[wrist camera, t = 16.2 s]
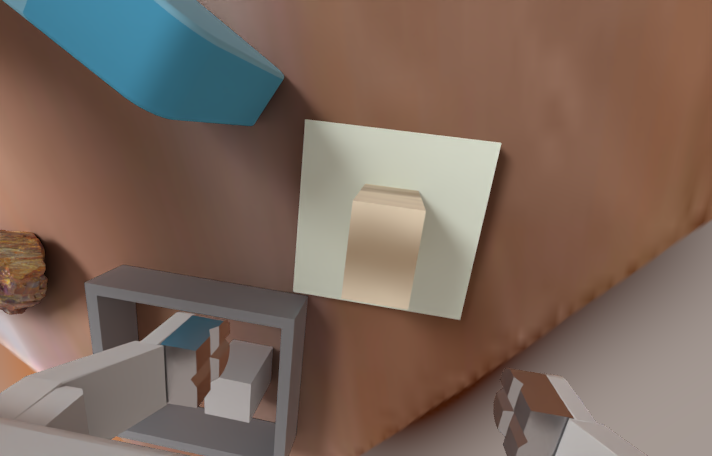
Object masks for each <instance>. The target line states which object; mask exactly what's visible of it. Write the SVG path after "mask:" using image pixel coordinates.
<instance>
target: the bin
mask: <svg viewBox="0 0 712 456" xmlns="http://www.w3.org/2000/svg"><path fill="white" fill-rule="evenodd" d="M84 284H85V292H86V300H87V309H88V317H89V325H90V333H91V341H92V349H93V354H96V353H99V352H102V351H105V350H108V349H111V348H114V347H117V346H120V345H123V344H126V343H129V342H132V341H139V340H138V327H137V314H136V302H137V303H142V304H148V305H153V306H159V307H164V308H170V309H176V310H181V311H187V312H192V313H198V314H203V315H209V316H214V317H220V318H226V319H231V320H237V321H242V322H248V323H253V324H259V325H265V326H270V327H276V328H281V345H280V361H279V377H278V393H277V409H276V423H273V422H269V421H264V420H259V419H254V418H252V419H251V420H250V422H249V423H247V422H243V421H238V420H233V419H229V418H224V417H219V416H214V415H210V414H205V408H201V407H198V408H193V407H187V406H181V405H175V404H168V403H167V405H166V406H164V407H163V408H161V409H159V410H158V411H156V412H155V413H153V414H151V415H150V416H148V417H146V418H145V419H143V420H142V421H140V422H138V423H137V424H135V425H133V426H132V427H130V428H129V429H127V430H125V431H124V432H122V433H121V434H119V435H117V436H118V437H123V438H127V439H132V440H136V441H141V442H145V443H150V444H154V445H159V446H164V447H168V448H173V449H177V450H182V451H186V452H191V453H195V454H200V455H205V456H289V454H290V451H291V448H292V446H293V443H294V440H295V437H296V431H297V419H298V408H299V396H300V385H301V373H302V361H303V350H304V338H305V326H306V315H307V303H308V296H305V295H299V294H293V293H287V292H281V291H275V290H269V289H263V288H258V287H252V286H246V285H240V284H234V283H228V282H222V281H216V280H210V279H204V278H199V277H193V276H187V275H181V274H175V273H169V272H163V271H157V270H151V269H145V268H140V267H134V266H128V265H121V266H119V267H117V268H115V269H113V270H110V271H108V272H106V273H104V274H102V275H100V276H97V277H95V278H93V279H91V280H89V281H86V282H84Z"/></svg>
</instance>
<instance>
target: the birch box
mask: <svg viewBox="0 0 712 456" xmlns="http://www.w3.org/2000/svg"><path fill="white" fill-rule="evenodd" d="M425 214H426V209H425V207H424V204H423V201H422V199H421V196H420V194H419V191H416V190H409V189H401V188H394V187H387V186H379V185H372V184H364V186H363V187H362V189H361V190H360V191H359V193H358V194H357V195H356V197H355V198H354V199H353V202H352V211H351V219H350V228H349V236H348V245H347V253H346V262H345V270H344V279H343V287H342V296H341V299H347V300H353V301H359V302H365V303H371V304H377V305H383V306H389V307H394V308H400V309H406V310H408V307H409V302H410V296H411V291H412V285H413V280H414V274H415V269H416V263H417V258H418V252H419V247H420V241H421V236H422V230H423V225H424V220H425Z"/></svg>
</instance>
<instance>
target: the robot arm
mask: <svg viewBox="0 0 712 456" xmlns="http://www.w3.org/2000/svg"><path fill="white" fill-rule="evenodd" d="M229 333H230V323H229V322H228V320H224V319H219V318H214V317H209V316H204V315H199V314H193V313H187V312H176V313H175V314H174V315H173V316H171V317H170V318H169V319H168V320H166V321H165V322H164V323H163V324H161V325H160V326H159V327H158V328H156V329H155V330H154V331H153V332H151V333H150V334H149V335H148V336H146V337H145V338H144V339H143V340H141V341H132V342H129V343H126V344H123V345H120V346H117V347H114V348H111V349H108V350H105V351H102V352H99V353H96V354H93V355H90V356H87V357H83V358H80V359H77V360H74V361H71V362H68V363H65V364H62V365H59V366H56V367H53V368H50V369H47V370H44V371H41V372H38V373H35V374H32V375H28V376H26V377H24V378H23V379H21V380H20V381H18V382H16V383H15V384H13V385H12V386H10V387H9V388H7V389H6V390H4V391H3V392H1V393H0V456H190V455H185V454H180V453H175V452H170V451H165V450H160V449H155V448H150V447H145V446H140V445H135V444H130V443H126V442H121V441H115V440H111V439H112V438H114V437H115V436H117V435H119V434H121V433H122V432H124V431H125V430H127V429H129V428H130V427H132V426H133V425H135V424H137V423H138V422H140V421H142V420H143V419H145V418H146V417H148V416H150V415H151V414H153V413H155V412H156V411H158V410H159V409H161V408H163V407H164V406H166V405H167V403H168V404H175V405H181V406H187V407H193V408H198V406H199V405H200V404H201V402H202V401H203V400H204V398H205V397H206V395H207V394H208V393H209V391H210V390H211V382H212V381H214V380H216V379H218V378H219V377H220V376H221V374H222V373H223V372H224V370H225V367H226V365H227V362H228V359H229V353H230V345H229V344H228V342H227V341H226V339H225V338H226V337H227V336H228V335H229ZM500 381H501V383H502V385H503V388H502V389H500V390H499V391H498V392H497V393H496V396H495V400H494V419H495V423H496V426H497V429H498V430H499V431H500V432H501V433H502V434H503V435H504V436H505V440H504V443H503V446H504V448H505V451H506V454H507V456H647V455H646V454H645V453H643V452H642V451H640V450H639V449H638V448H636V447H635V446H633V445H632V444H630V443H629V442H628V441H626V440H625V439H623V438H622V437H620V436H619V435H618V434H616V433H615V432H613V431H612V430H611V429H609V428H608V427H607V426H605V425H603V424H598V423H597V422H596V421H595V419H594V418H593V417H592V415H591V414H590V412H589V411H588V410H587V408H586V407H585V406H584V404H583V403H582V401H581V400H580V398H579V397H578V396H577V394H576V393H575V391H574V390H573V389H572V387H571V386H570V384H569V383H568V382H567V380H566V379H565V378H563V377H562V376H558V375H551V374H543V373H542V374H540V373H534V372H527V371H522V370H515V369H509V368H505V369H504V371H503V372H502V375H501V378H500Z"/></svg>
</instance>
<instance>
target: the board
mask: <svg viewBox="0 0 712 456" xmlns="http://www.w3.org/2000/svg"><path fill="white" fill-rule="evenodd" d="M500 147H501V143H498V142H489V141H481V140H473V139H465V138H456V137H448V136H440V135H432V134H423V133H415V132H407V131H399V130H390V129H382V128H374V127H366V126H357V125H349V124H341V123H333V122H324V121H316V120H308V119H305V129H304V143H303V157H302V171H301V185H300V199H299V213H298V227H297V241H296V255H295V269H294V283H293V292H298V293H304V294H309V295H315V296H321V297H327V298H333V299H339V300H345V301H351V302H357V303H363V304H369V305H375V306H380V307H386V308H392V309H398V310H404V311H410V312H416V313H422V314H428V315H434V316H440V317H446V318H451V319H457V320H460V318H461V314H462V309H463V305H464V301H465V297H466V292H467V288H468V284H469V280H470V275H471V271H472V267H473V263H474V258H475V254H476V250H477V245H478V241H479V237H480V233H481V228H482V224H483V220H484V216H485V211H486V207H487V203H488V198H489V194H490V190H491V186H492V181H493V177H494V173H495V169H496V164H497V160H498V156H499V151H500ZM364 184H372V185H379V186H387V187H394V188H401V189H409V190H416V191H419V194H420V196H421V199H422V201H423V204H424V207H425V209H426V214H425V220H424V225H423V230H422V236H421V241H420V247H419V252H418V258H417V263H416V269H415V274H414V280H413V285H412V291H411V296H410V302H409V307H408V310H406V309H400V308H394V307H389V306H383V305H377V304H371V303H365V302H359V301H353V300H347V299H341V296H342V287H343V279H344V270H345V262H346V253H347V245H348V236H349V228H350V219H351V211H352V202H353V199H354V198H355V197H356V195H357V194H358V193H359V191H360V190H361V189H362V187H363V186H364Z"/></svg>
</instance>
